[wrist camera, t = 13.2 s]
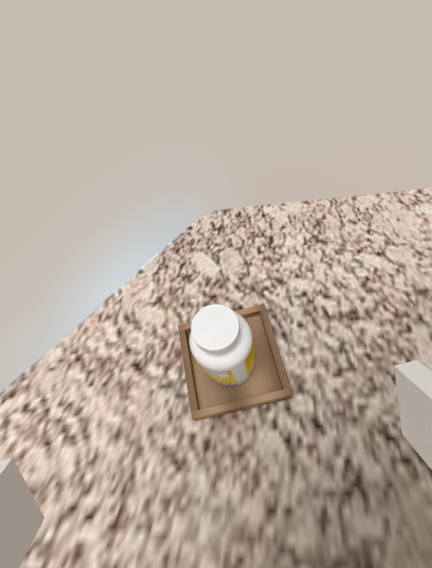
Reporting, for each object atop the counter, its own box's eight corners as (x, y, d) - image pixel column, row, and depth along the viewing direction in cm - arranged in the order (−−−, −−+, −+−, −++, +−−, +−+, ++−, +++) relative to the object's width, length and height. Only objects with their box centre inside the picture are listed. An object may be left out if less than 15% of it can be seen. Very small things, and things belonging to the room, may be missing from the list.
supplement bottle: (241, 328, 43) (230, 283, 32) (266, 371, 39) (264, 339, 28) (197, 351, 42) (170, 313, 31) (218, 397, 39) (197, 374, 28)
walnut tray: (264, 311, 44) (263, 303, 42) (291, 398, 38) (292, 394, 36) (182, 331, 45) (178, 325, 43) (196, 420, 39) (192, 418, 37)
